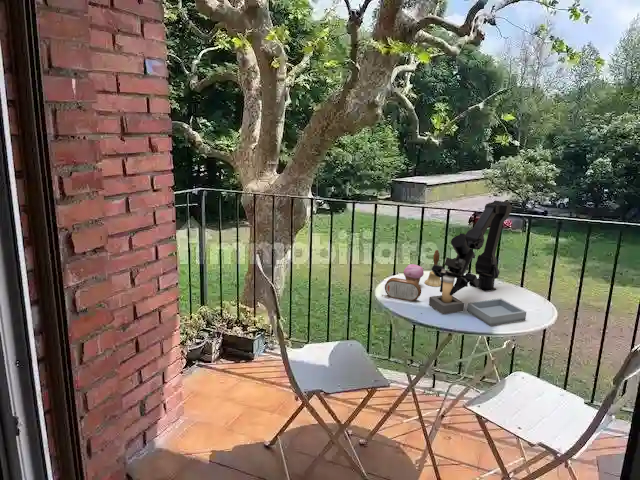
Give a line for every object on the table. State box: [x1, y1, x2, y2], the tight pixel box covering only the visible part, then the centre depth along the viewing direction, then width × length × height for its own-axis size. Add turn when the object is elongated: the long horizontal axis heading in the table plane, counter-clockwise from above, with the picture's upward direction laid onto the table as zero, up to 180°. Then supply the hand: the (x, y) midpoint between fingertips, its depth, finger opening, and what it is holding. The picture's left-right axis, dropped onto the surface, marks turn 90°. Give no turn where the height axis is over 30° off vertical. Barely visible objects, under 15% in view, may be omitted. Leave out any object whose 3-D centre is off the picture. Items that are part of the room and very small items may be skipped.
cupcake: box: [403, 263, 425, 285], centre depth 207 cm, size 9×9×10 cm
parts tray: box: [466, 298, 527, 327], centre depth 178 cm, size 16×14×4 cm
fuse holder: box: [428, 294, 465, 315], centre depth 184 cm, size 10×10×4 cm
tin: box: [384, 277, 422, 302], centre depth 193 cm, size 15×3×8 cm, turn 65°
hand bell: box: [424, 249, 441, 288], centre depth 210 cm, size 8×8×16 cm
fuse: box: [441, 275, 456, 303], centre depth 183 cm, size 4×4×13 cm
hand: (445, 293), depth 182 cm, fingers closed on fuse, 4 cm apart
